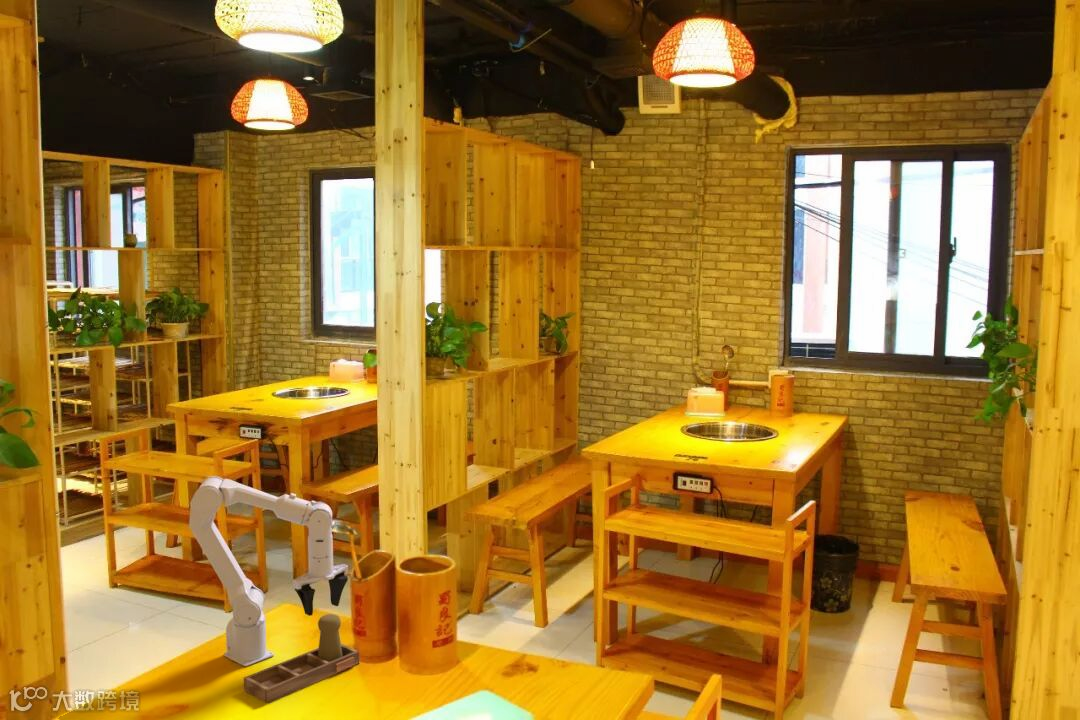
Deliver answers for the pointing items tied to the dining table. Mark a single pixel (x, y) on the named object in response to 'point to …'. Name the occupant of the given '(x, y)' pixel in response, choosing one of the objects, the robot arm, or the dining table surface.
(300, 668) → the spice rack
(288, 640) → the dining table surface
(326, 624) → the pepper mill
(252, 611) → the robot arm
